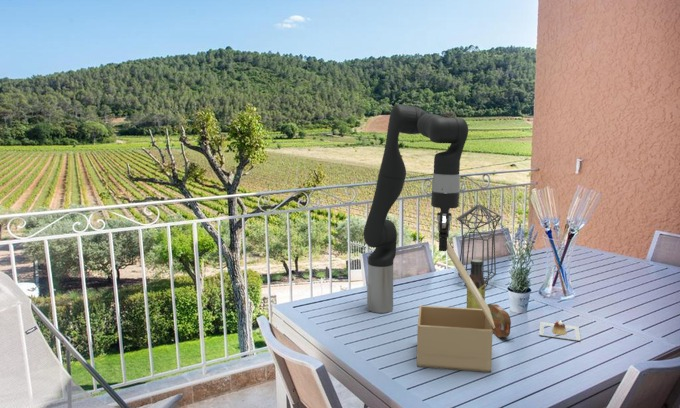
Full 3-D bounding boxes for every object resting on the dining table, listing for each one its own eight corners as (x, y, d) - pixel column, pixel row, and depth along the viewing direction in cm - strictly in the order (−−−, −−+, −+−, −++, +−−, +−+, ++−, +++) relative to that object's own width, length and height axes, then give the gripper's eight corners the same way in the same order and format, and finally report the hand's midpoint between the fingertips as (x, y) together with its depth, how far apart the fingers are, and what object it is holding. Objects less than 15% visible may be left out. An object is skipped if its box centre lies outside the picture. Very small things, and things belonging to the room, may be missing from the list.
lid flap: (447, 253, 136) (449, 252, 136) (446, 241, 151) (447, 240, 151) (493, 328, 137) (495, 327, 137) (488, 309, 151) (489, 308, 151)
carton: (416, 367, 141) (417, 326, 139) (418, 342, 158) (419, 305, 156) (491, 373, 138) (492, 331, 136) (485, 347, 154) (486, 309, 152)
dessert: (539, 324, 173) (540, 311, 172) (578, 329, 168) (579, 316, 168) (538, 337, 162) (539, 323, 161) (580, 343, 157) (581, 329, 157)
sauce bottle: (484, 318, 177) (487, 263, 174) (466, 317, 178) (468, 262, 176) (483, 312, 184) (485, 258, 181) (465, 311, 185) (467, 258, 182)
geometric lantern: (499, 283, 218) (503, 203, 212) (489, 294, 205) (492, 209, 199) (464, 277, 226) (466, 200, 220) (451, 287, 213) (454, 205, 207)
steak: (484, 324, 173) (485, 300, 171) (493, 323, 173) (494, 299, 172) (502, 342, 158) (503, 316, 157) (511, 341, 158) (513, 315, 157)
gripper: (432, 186, 148) (429, 244, 151) (431, 192, 135) (428, 255, 138) (458, 187, 147) (455, 246, 149) (460, 193, 134) (456, 257, 137)
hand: (442, 250), depth 144 cm, fingers closed
